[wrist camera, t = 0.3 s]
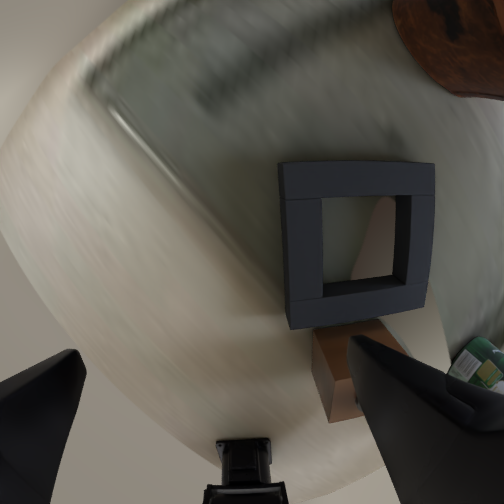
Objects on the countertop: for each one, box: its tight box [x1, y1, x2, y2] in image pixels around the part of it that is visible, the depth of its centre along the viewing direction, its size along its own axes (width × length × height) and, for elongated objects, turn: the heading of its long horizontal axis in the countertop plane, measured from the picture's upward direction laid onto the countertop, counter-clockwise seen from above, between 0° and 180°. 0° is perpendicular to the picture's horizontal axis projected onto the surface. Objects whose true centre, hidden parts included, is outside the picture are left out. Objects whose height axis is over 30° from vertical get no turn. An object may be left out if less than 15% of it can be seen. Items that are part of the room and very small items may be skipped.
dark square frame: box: [277, 160, 435, 330], centre depth 21 cm, size 12×12×2 cm
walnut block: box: [312, 319, 409, 423], centre depth 21 cm, size 5×6×8 cm
